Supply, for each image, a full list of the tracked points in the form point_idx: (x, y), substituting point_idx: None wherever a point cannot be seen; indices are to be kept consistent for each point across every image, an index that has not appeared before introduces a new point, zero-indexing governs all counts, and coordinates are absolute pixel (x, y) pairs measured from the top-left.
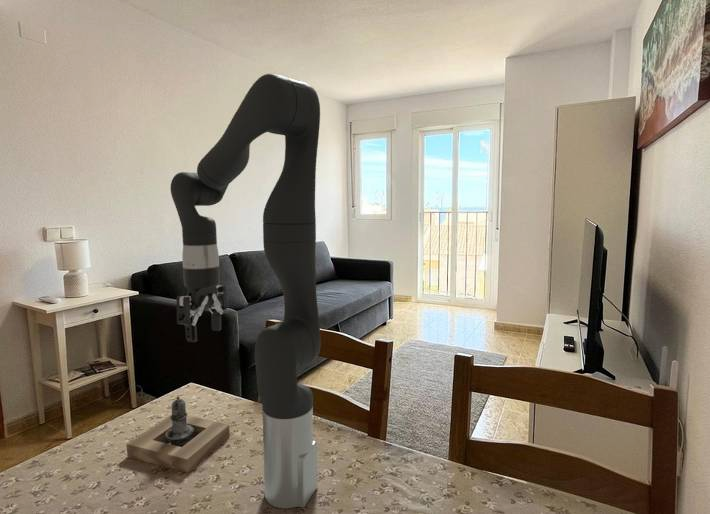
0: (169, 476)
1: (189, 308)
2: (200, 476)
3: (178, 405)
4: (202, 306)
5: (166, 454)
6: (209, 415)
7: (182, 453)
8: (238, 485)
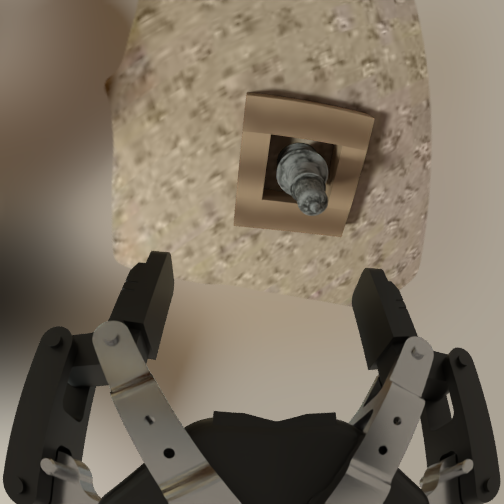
0: (375, 137)
1: (471, 436)
2: (370, 89)
3: (326, 196)
4: (375, 448)
5: (363, 160)
6: (187, 173)
7: (360, 134)
8: (379, 24)
